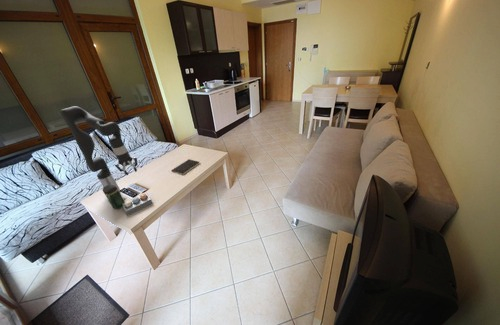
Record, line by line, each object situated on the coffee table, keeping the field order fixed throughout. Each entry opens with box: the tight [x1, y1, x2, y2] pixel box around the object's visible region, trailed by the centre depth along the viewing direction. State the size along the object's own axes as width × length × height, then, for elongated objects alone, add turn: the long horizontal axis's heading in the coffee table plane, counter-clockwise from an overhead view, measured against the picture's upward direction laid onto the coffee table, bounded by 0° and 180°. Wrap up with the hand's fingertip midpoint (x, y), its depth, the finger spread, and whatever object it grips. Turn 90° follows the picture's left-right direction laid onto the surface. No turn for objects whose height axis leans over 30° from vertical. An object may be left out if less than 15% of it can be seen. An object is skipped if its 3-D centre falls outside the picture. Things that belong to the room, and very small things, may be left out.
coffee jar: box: [102, 185, 126, 210], centre depth 145 cm, size 10×8×19 cm
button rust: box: [139, 193, 147, 201], centre depth 148 cm, size 4×4×4 cm
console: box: [122, 192, 153, 217], centre depth 147 cm, size 12×18×4 cm, turn 131°
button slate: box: [132, 196, 140, 204], centre depth 146 cm, size 4×4×4 cm
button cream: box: [124, 200, 132, 208], centre depth 143 cm, size 4×4×4 cm
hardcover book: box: [171, 158, 200, 176], centre depth 191 cm, size 16×23×2 cm
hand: (131, 173), depth 137 cm, fingers open, 5 cm apart
